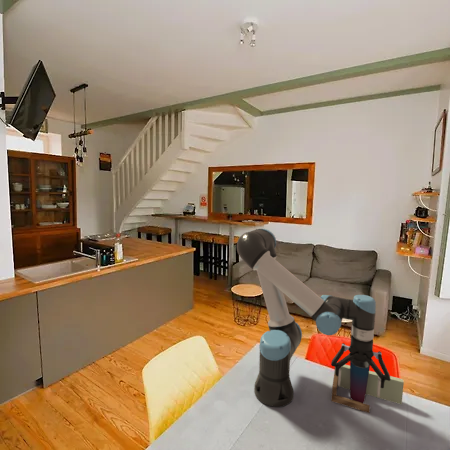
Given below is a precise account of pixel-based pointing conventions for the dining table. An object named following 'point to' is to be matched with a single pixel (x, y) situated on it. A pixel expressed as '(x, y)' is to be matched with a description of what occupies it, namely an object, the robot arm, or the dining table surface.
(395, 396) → the wall board
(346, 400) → the bracket
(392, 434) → the dining table surface
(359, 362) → the cup
